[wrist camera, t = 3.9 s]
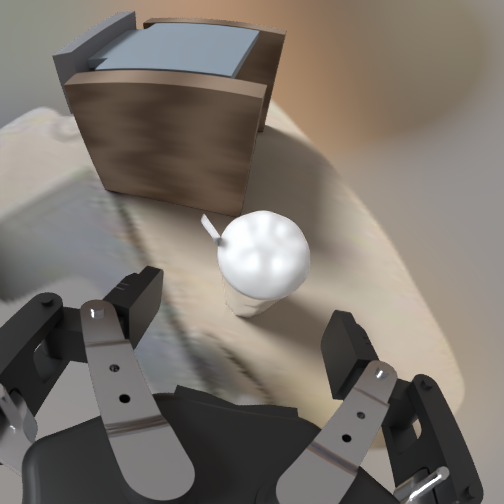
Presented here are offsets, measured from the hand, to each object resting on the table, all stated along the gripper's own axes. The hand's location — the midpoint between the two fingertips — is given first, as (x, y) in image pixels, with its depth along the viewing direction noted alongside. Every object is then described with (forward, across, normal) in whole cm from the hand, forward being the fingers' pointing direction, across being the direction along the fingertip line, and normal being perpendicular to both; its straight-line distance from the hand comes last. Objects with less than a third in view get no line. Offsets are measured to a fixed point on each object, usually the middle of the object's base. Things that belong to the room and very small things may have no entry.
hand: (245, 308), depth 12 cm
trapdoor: (+11, +10, -11) cm, 19 cm away
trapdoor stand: (+17, +8, -6) cm, 19 cm away
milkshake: (+8, 0, +4) cm, 9 cm away
